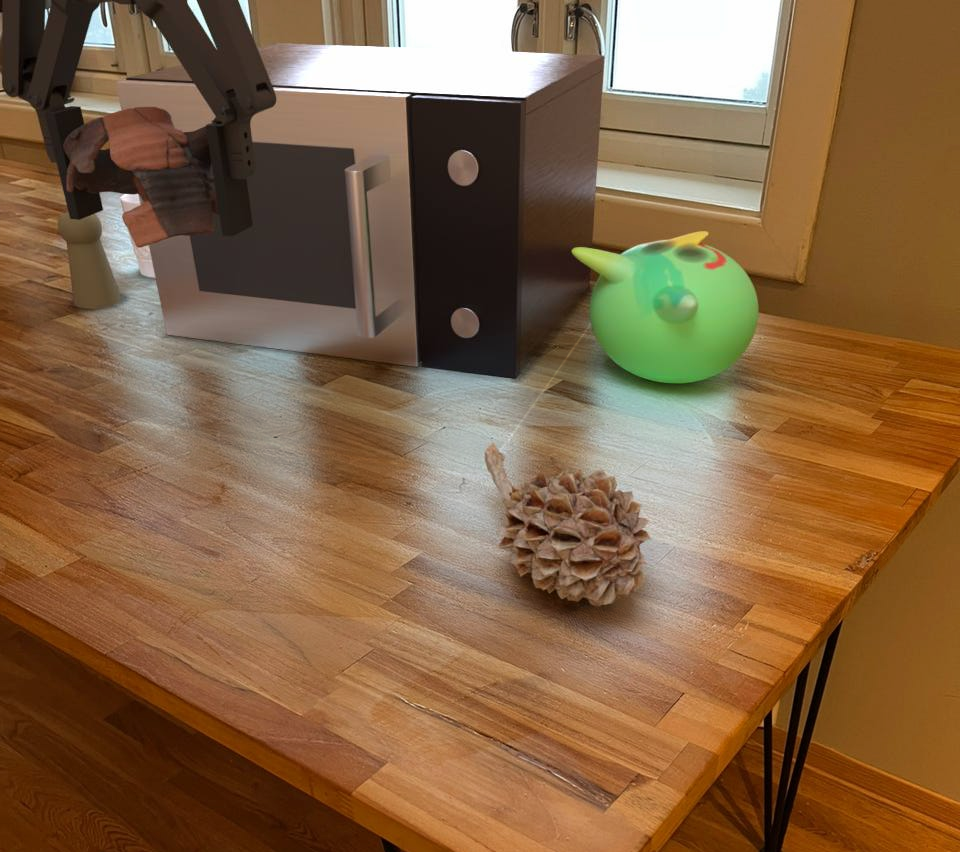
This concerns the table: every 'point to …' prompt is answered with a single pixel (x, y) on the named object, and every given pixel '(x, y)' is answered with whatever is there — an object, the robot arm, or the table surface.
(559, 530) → the pine cone
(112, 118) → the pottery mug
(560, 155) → the microwave
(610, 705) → the table surface
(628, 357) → the toy bird
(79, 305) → the tan game pawn
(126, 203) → the white cup
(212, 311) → the microwave door
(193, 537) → the table surface
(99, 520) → the table surface
